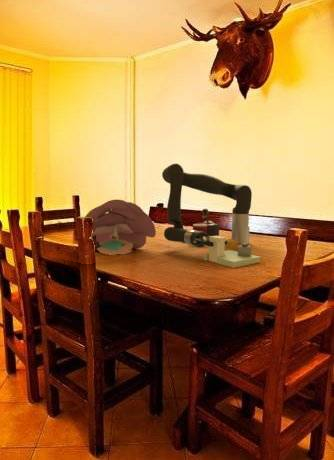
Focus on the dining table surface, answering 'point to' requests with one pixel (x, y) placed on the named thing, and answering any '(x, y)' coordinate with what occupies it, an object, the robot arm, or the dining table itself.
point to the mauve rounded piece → (120, 227)
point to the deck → (237, 257)
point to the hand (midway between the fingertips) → (219, 243)
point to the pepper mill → (210, 225)
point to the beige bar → (216, 248)
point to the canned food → (200, 227)
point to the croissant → (232, 245)
